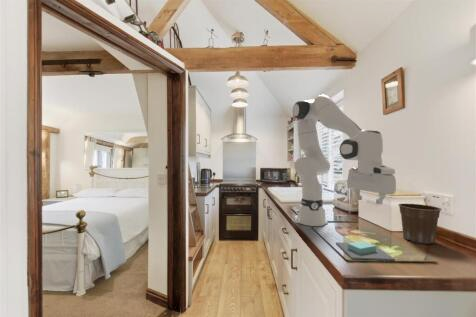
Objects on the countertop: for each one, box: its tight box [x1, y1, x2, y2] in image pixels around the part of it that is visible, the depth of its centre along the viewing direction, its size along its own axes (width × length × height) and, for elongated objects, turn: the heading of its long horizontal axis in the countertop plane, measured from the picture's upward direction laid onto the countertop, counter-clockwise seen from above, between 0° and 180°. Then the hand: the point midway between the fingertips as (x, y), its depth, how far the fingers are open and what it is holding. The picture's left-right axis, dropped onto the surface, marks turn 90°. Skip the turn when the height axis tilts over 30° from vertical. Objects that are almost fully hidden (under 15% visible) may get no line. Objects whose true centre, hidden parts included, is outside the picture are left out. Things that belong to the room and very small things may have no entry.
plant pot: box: [398, 203, 442, 245], centre depth 112 cm, size 16×16×16 cm
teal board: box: [347, 240, 377, 254], centre depth 97 cm, size 2×6×9 cm
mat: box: [335, 241, 396, 261], centre depth 96 cm, size 16×16×1 cm
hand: (368, 201), depth 97 cm, fingers open, 8 cm apart
